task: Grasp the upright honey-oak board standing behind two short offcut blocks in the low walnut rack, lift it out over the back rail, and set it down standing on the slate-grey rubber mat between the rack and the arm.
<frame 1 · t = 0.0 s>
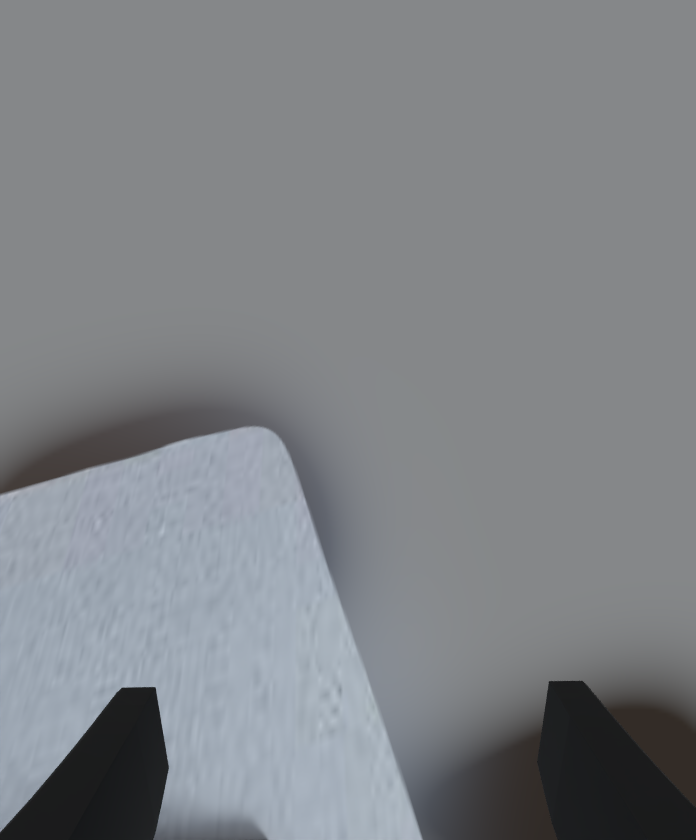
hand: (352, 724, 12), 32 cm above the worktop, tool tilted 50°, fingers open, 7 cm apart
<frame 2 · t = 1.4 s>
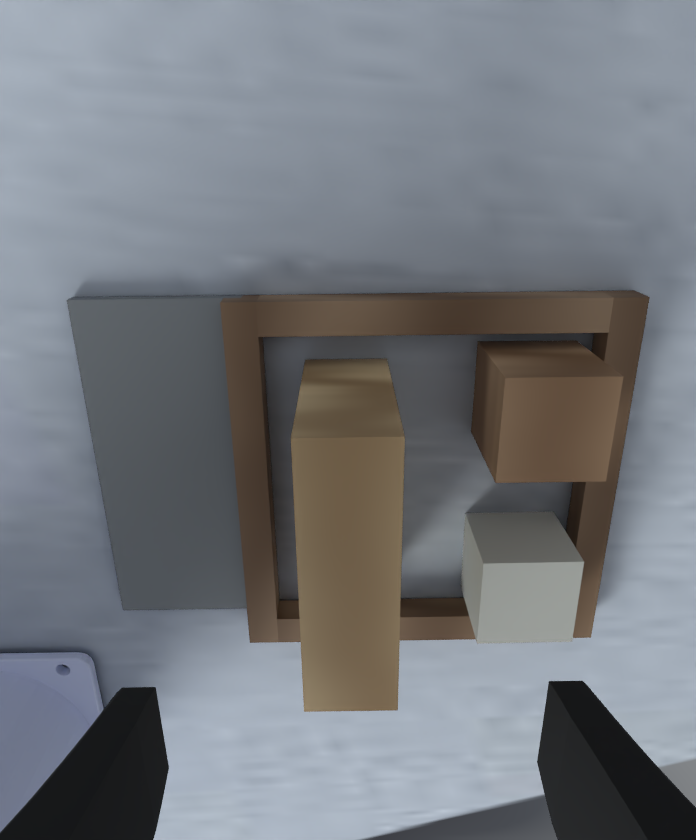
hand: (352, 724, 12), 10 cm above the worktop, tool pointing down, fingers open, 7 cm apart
offcut grey: (505, 548, 22), resting in rack
oak board: (347, 474, 21), resting in rack
rack: (423, 474, 21), on the worktop
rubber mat: (179, 464, 20), on the worktop
offcut dark: (521, 386, 20), resting in rack
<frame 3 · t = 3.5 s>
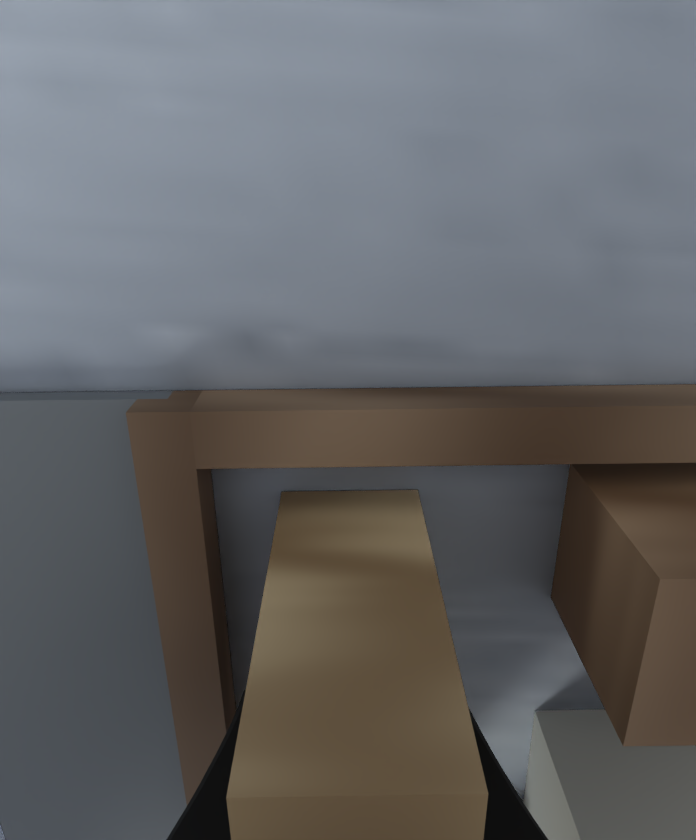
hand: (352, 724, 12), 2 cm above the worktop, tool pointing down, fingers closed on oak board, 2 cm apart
offcut grey: (593, 755, 14), resting in rack
oak board: (351, 660, 13), resting in rack, touching gripper
rack: (471, 659, 13), on the worktop
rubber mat: (82, 645, 13), on the worktop
offcut dark: (637, 531, 12), resting in rack
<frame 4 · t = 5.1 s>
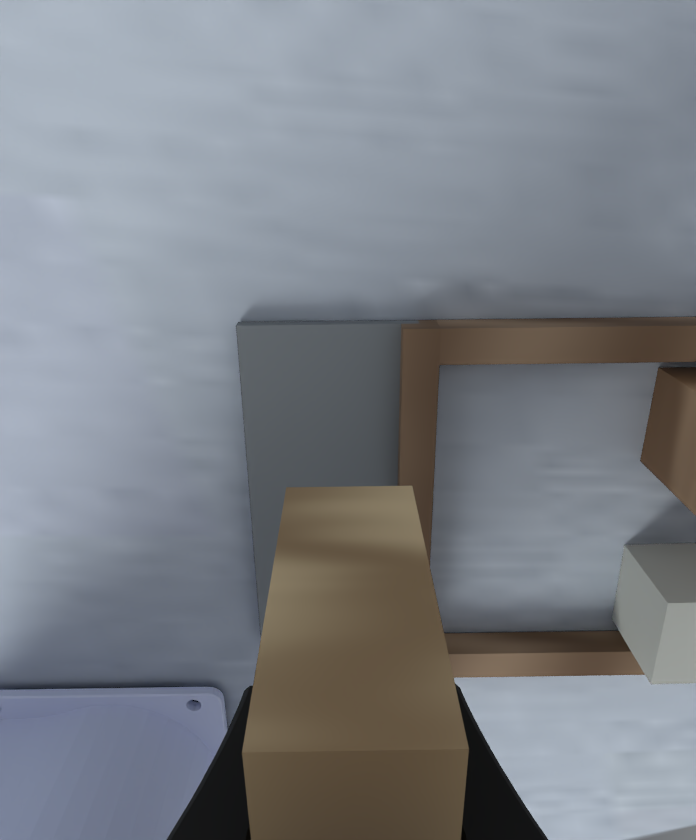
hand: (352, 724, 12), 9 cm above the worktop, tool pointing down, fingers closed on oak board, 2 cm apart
offcut grey: (661, 580, 21), resting in rack
oak board: (350, 644, 14), point 6 cm above the worktop, touching gripper
rack: (585, 505, 20), on the worktop
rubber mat: (332, 494, 20), on the worktop
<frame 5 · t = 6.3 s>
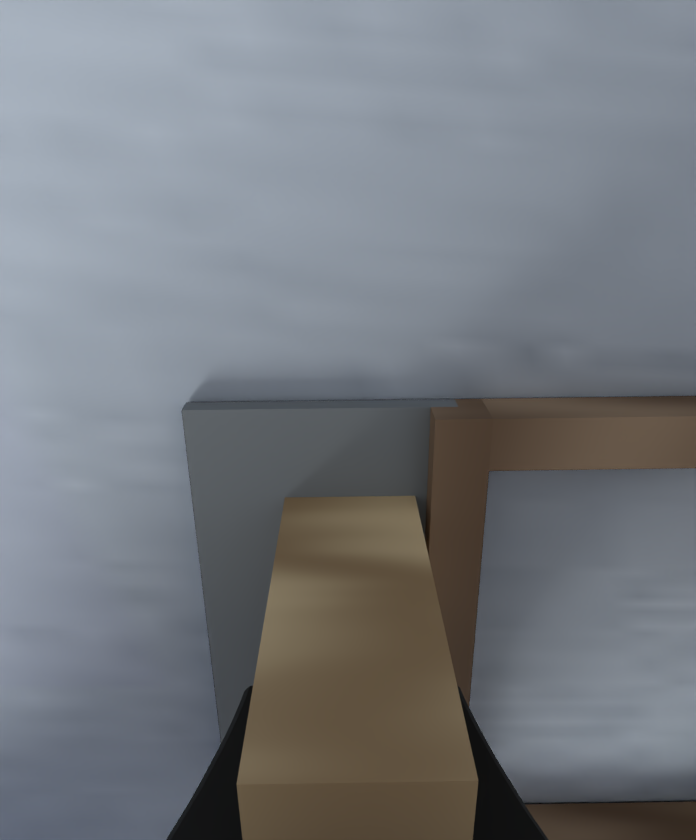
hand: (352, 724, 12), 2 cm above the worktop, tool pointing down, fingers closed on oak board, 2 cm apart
oak board: (351, 659, 14), resting on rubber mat, touching gripper
rack: (685, 647, 14), on the worktop
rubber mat: (327, 634, 14), on the worktop
when the fingers open (2 cm above the worktop, at t = 6.8 s): oak board stays where it is, resting on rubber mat.
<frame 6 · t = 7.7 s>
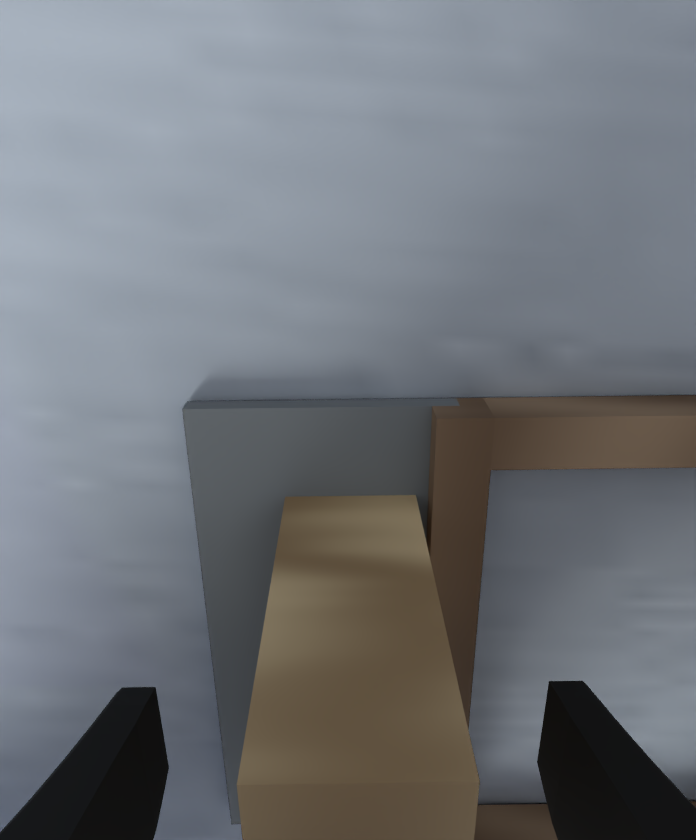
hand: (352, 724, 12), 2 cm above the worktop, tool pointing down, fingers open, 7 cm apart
oak board: (352, 658, 14), resting on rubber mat
rack: (687, 647, 14), on the worktop
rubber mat: (328, 634, 14), on the worktop
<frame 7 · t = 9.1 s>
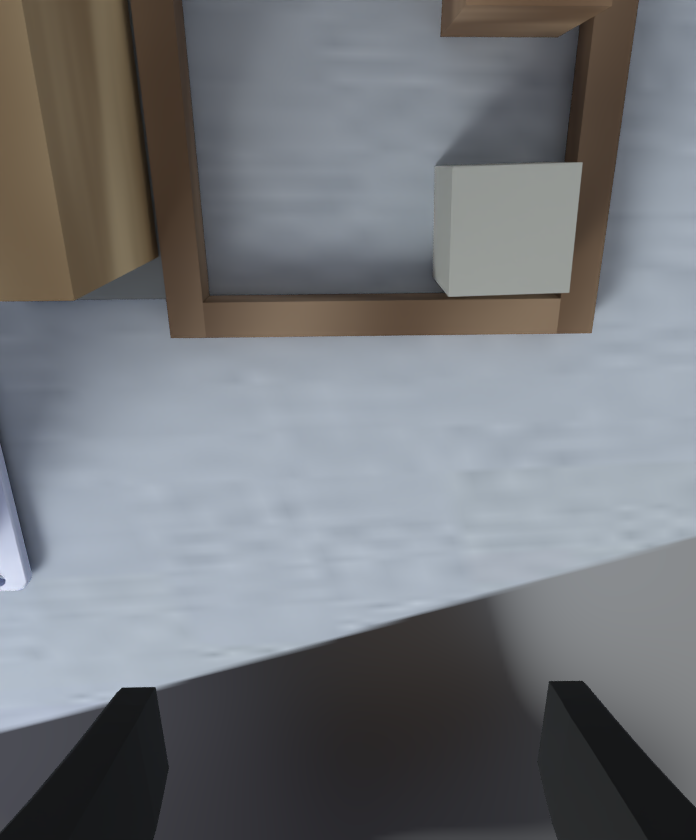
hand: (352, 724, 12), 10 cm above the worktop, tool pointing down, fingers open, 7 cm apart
offcut grey: (486, 221, 18), resting in rack
oak board: (90, 97, 16), resting on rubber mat
rack: (381, 103, 17), on the worktop
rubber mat: (74, 85, 16), on the worktop
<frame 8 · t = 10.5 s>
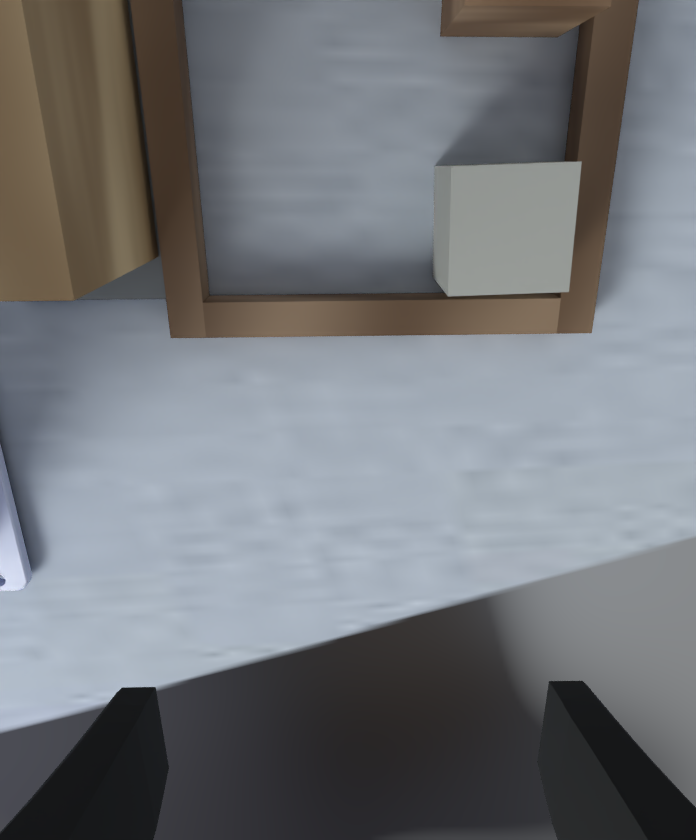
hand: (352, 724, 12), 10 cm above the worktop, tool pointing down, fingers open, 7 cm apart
offcut grey: (486, 220, 18), resting in rack
oak board: (90, 97, 16), resting on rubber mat
rack: (381, 103, 17), on the worktop
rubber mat: (74, 85, 16), on the worktop
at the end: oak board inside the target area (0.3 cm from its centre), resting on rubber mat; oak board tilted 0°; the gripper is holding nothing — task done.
